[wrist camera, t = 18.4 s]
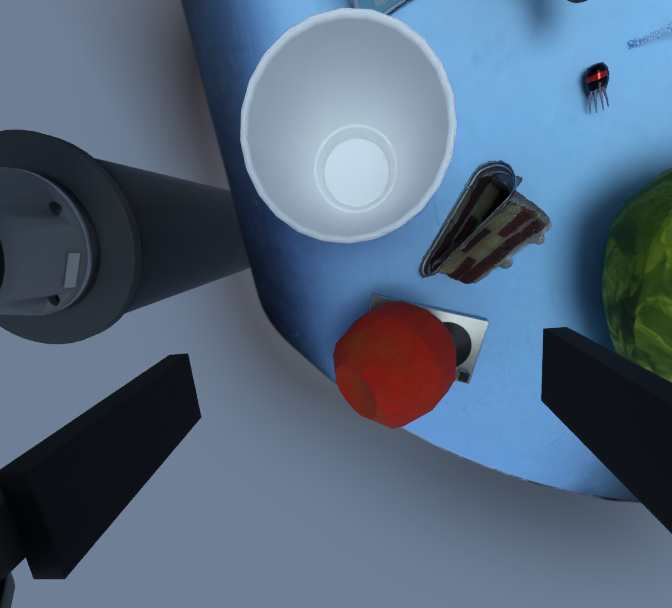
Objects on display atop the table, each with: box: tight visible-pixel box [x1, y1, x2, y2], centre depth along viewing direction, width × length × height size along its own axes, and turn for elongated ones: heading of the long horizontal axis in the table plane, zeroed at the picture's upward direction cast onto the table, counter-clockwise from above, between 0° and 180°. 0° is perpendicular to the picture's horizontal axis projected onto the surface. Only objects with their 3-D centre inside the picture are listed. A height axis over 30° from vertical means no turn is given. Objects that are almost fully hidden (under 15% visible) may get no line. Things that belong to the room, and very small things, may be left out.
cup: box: [240, 8, 457, 244], centre depth 27 cm, size 12×12×16 cm
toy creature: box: [584, 22, 672, 113], centre depth 29 cm, size 10×3×2 cm, turn 136°
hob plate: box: [368, 293, 489, 384], centre depth 36 cm, size 12×7×2 cm, turn 78°
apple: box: [333, 301, 456, 428], centre depth 32 cm, size 10×10×12 cm
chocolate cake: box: [419, 160, 552, 284], centre depth 33 cm, size 10×7×12 cm
